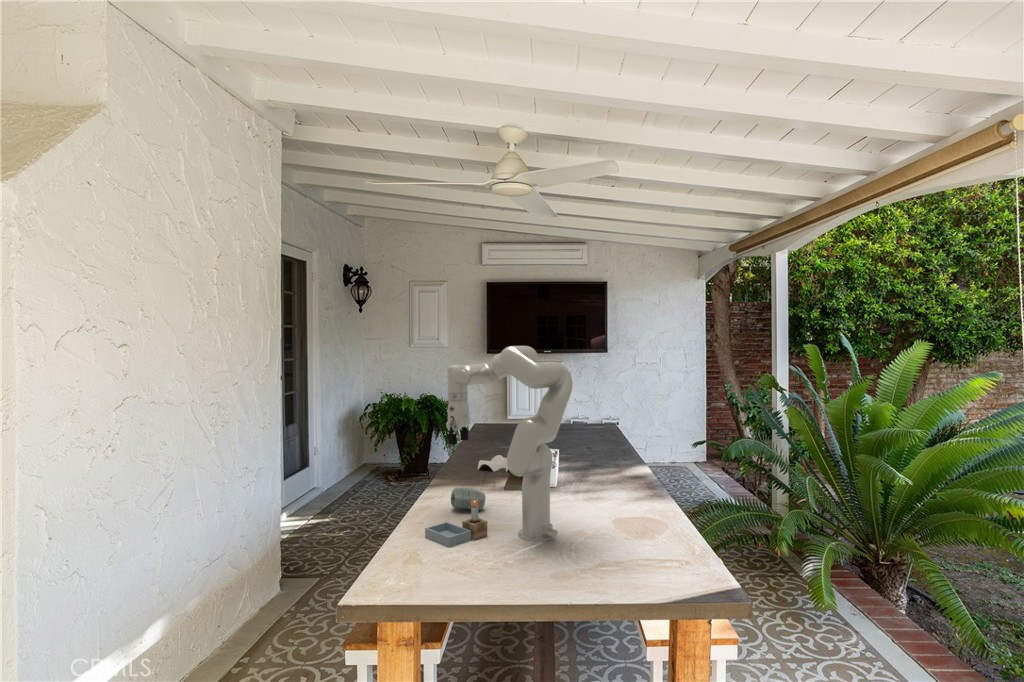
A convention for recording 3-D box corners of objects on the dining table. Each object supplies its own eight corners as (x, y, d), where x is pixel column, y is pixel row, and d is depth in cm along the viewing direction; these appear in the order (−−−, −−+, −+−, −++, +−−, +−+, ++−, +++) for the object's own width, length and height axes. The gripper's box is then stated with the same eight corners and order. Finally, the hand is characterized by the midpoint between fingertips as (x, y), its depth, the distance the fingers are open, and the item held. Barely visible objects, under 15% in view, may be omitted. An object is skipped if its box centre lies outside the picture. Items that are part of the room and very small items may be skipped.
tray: (471, 540, 187) (471, 530, 187) (449, 547, 181) (449, 537, 181) (446, 530, 197) (446, 521, 197) (425, 537, 190) (425, 528, 190)
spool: (444, 507, 216) (453, 483, 215) (450, 500, 225) (459, 477, 225) (477, 521, 214) (486, 497, 214) (481, 514, 224) (490, 491, 223)
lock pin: (479, 530, 191) (479, 500, 191) (474, 531, 189) (474, 502, 189) (475, 528, 193) (475, 499, 193) (469, 530, 191) (469, 500, 191)
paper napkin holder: (475, 476, 277) (475, 456, 277) (486, 468, 296) (486, 449, 296) (524, 479, 271) (524, 459, 271) (533, 470, 289) (533, 451, 289)
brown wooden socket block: (487, 535, 191) (487, 521, 191) (473, 540, 187) (473, 525, 187) (475, 531, 195) (475, 517, 195) (462, 536, 191) (462, 521, 191)
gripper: (456, 399, 206) (457, 446, 205) (476, 395, 222) (477, 439, 221) (438, 399, 208) (438, 445, 208) (459, 395, 224) (460, 438, 224)
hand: (458, 442), depth 215 cm, fingers open, 9 cm apart
